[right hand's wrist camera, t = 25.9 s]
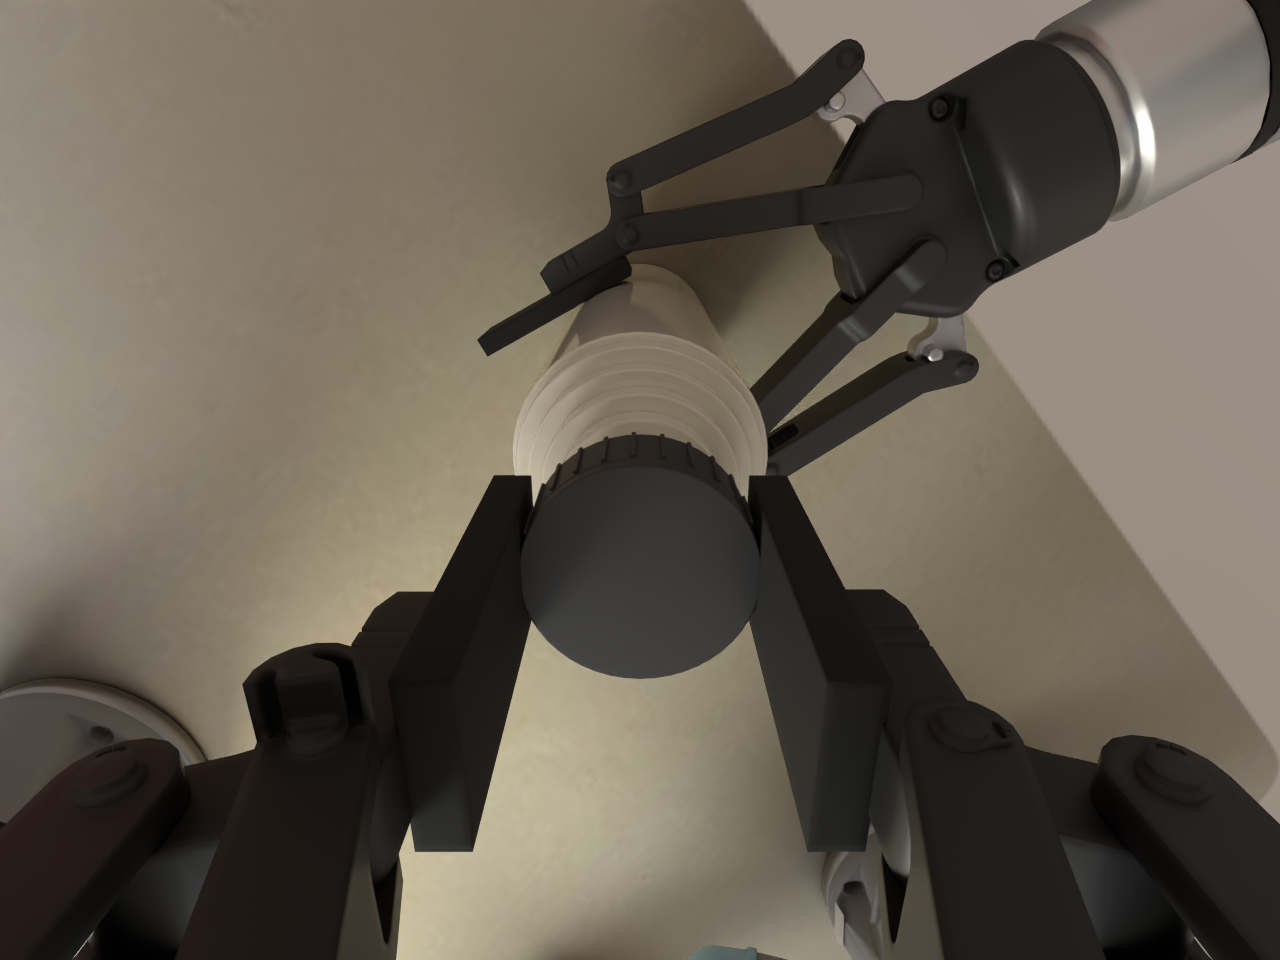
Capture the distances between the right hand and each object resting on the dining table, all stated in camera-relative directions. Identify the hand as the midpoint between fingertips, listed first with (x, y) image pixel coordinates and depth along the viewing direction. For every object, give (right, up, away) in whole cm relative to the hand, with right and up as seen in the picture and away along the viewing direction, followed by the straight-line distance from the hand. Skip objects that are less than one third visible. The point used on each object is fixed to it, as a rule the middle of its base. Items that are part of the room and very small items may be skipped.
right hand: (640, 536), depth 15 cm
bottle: (0, +9, +21) cm, 23 cm away
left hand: (-4, +4, +16) cm, 17 cm away
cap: (0, 0, -1) cm, 2 cm away
